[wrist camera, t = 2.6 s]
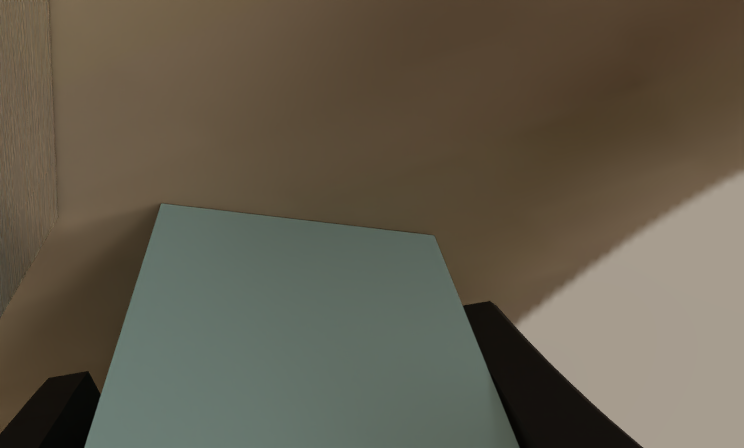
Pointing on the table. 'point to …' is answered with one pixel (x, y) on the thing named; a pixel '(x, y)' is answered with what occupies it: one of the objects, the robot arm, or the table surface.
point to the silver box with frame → (25, 140)
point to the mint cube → (294, 342)
